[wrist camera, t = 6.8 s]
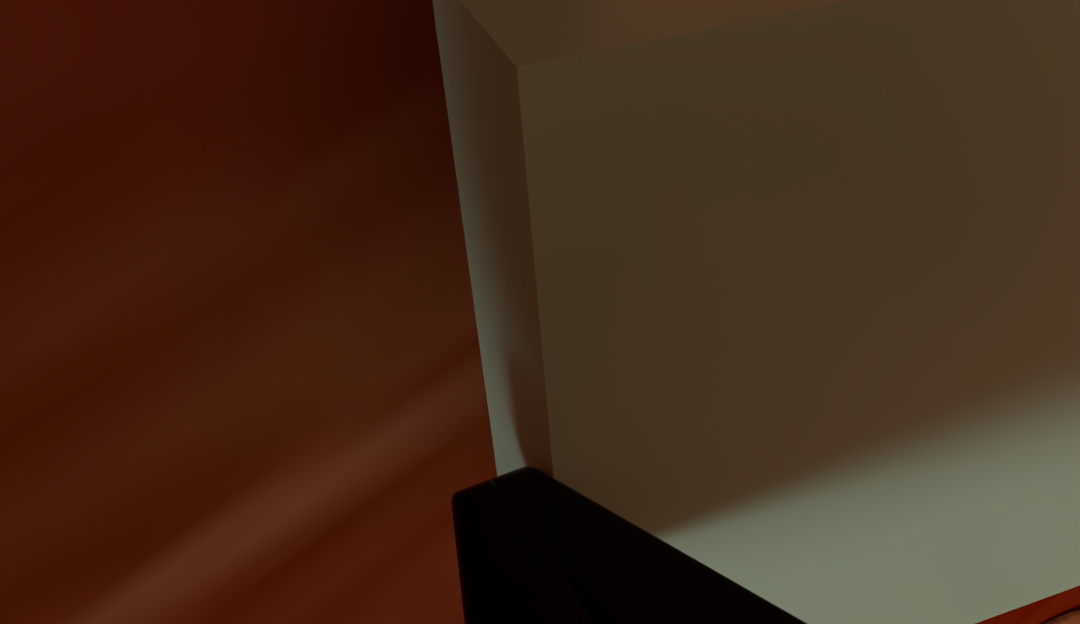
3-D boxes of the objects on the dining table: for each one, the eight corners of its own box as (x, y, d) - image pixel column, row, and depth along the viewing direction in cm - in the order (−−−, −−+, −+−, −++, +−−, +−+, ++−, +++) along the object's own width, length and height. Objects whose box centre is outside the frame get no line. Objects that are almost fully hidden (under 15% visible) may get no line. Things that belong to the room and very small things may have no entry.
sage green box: (1056, 319, 16) (1299, 504, 13) (472, 490, 14) (579, 767, 11) (1216, -228, 12) (1667, -163, 8) (378, -96, 10) (517, 66, 6)
